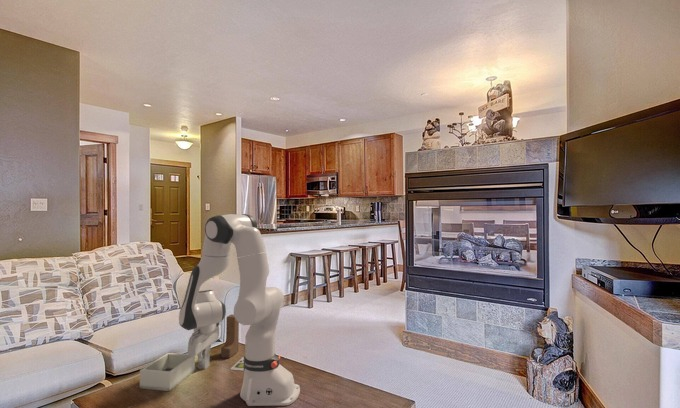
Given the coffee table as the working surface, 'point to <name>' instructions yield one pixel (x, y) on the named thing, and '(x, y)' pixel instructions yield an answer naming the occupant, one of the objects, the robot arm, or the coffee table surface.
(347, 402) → the coffee table surface
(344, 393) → the coffee table surface
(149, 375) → the walled box
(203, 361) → the metal peg
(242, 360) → the handheld gaming device
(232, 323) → the wooden block
